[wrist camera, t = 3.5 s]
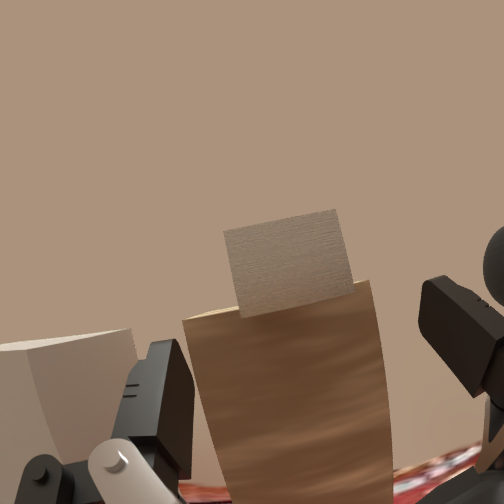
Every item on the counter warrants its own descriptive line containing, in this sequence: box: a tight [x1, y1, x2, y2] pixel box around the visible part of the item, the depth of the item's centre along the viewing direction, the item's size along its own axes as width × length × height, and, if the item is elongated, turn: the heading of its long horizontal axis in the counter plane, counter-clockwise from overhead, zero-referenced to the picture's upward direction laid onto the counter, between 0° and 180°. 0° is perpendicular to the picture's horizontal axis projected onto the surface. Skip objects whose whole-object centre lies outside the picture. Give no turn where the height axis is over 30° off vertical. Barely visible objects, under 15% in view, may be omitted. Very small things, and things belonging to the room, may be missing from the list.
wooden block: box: [224, 209, 355, 319], centre depth 22 cm, size 23×4×3 cm, turn 179°
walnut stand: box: [182, 280, 393, 504], centre depth 24 cm, size 13×13×32 cm
